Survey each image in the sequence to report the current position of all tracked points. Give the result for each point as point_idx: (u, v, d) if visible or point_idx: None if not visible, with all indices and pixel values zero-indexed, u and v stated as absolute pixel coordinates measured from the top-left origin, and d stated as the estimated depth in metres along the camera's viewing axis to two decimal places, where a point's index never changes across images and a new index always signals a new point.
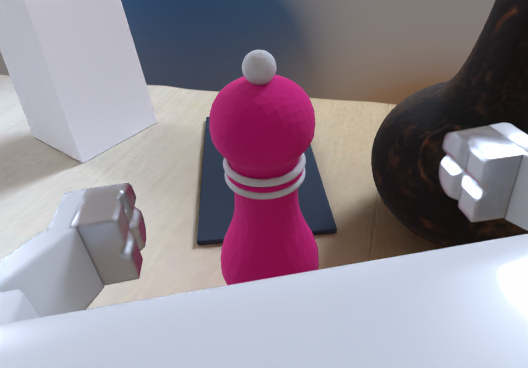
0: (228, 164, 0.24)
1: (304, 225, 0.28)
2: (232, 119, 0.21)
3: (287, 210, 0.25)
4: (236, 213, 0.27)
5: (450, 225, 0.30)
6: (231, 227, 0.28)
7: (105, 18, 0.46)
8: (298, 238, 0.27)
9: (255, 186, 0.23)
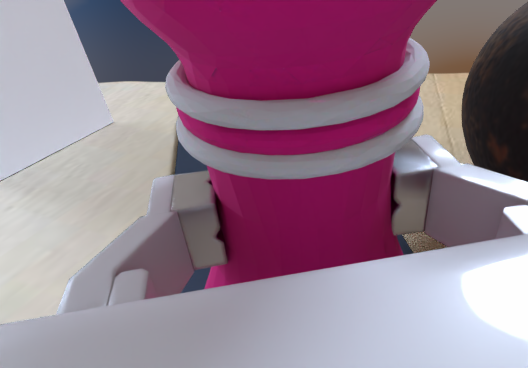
0: (180, 78, 0.07)
1: None
2: None
3: (372, 217, 0.08)
4: None
5: None
6: (213, 276, 0.11)
7: None
8: None
9: (278, 130, 0.06)
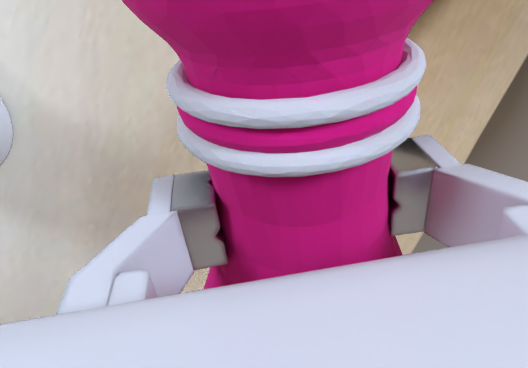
0: (181, 78, 0.08)
1: (400, 253, 0.11)
2: None
3: (370, 214, 0.09)
4: None
5: None
6: (213, 274, 0.11)
7: None
8: None
9: (279, 128, 0.06)
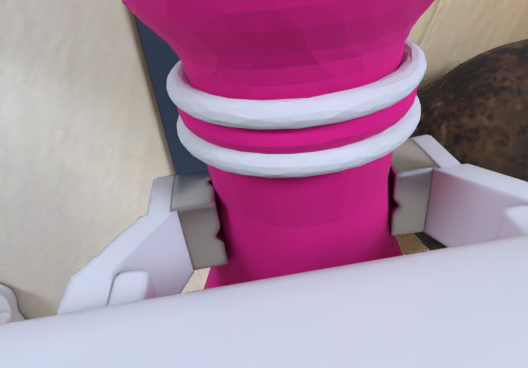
0: (181, 79, 0.08)
1: (400, 253, 0.11)
2: None
3: (370, 215, 0.08)
4: None
5: None
6: (213, 274, 0.11)
7: None
8: None
9: (279, 129, 0.06)
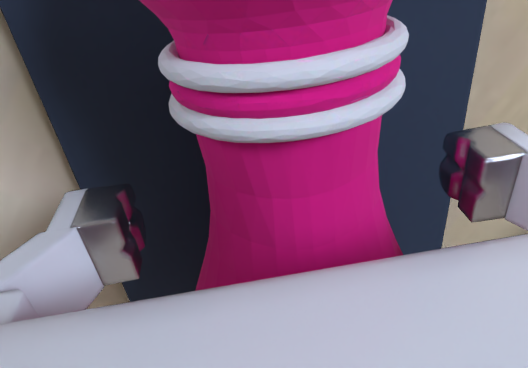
0: (172, 54, 0.08)
1: (393, 235, 0.11)
2: None
3: (361, 187, 0.09)
4: (215, 218, 0.10)
5: None
6: (207, 261, 0.11)
7: None
8: None
9: (268, 92, 0.07)
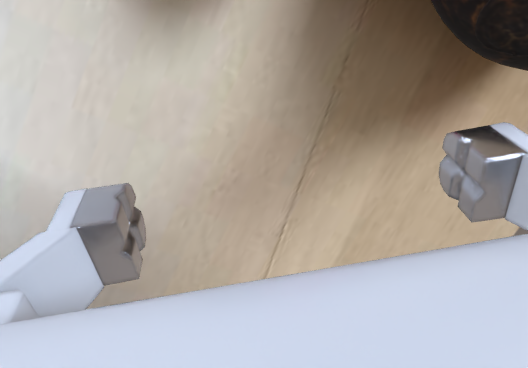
0: None
1: None
2: None
3: None
4: None
5: (466, 45, 0.27)
6: None
7: None
8: None
9: None
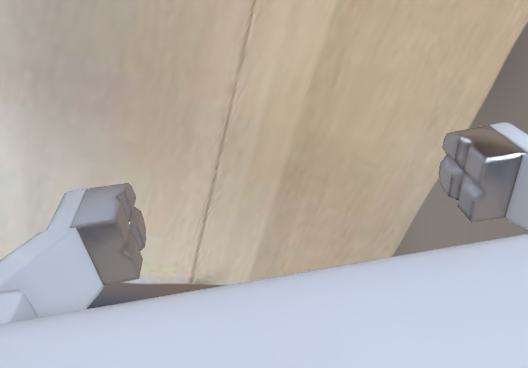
0: None
1: None
2: None
3: None
4: None
5: None
6: None
7: None
8: None
9: None
